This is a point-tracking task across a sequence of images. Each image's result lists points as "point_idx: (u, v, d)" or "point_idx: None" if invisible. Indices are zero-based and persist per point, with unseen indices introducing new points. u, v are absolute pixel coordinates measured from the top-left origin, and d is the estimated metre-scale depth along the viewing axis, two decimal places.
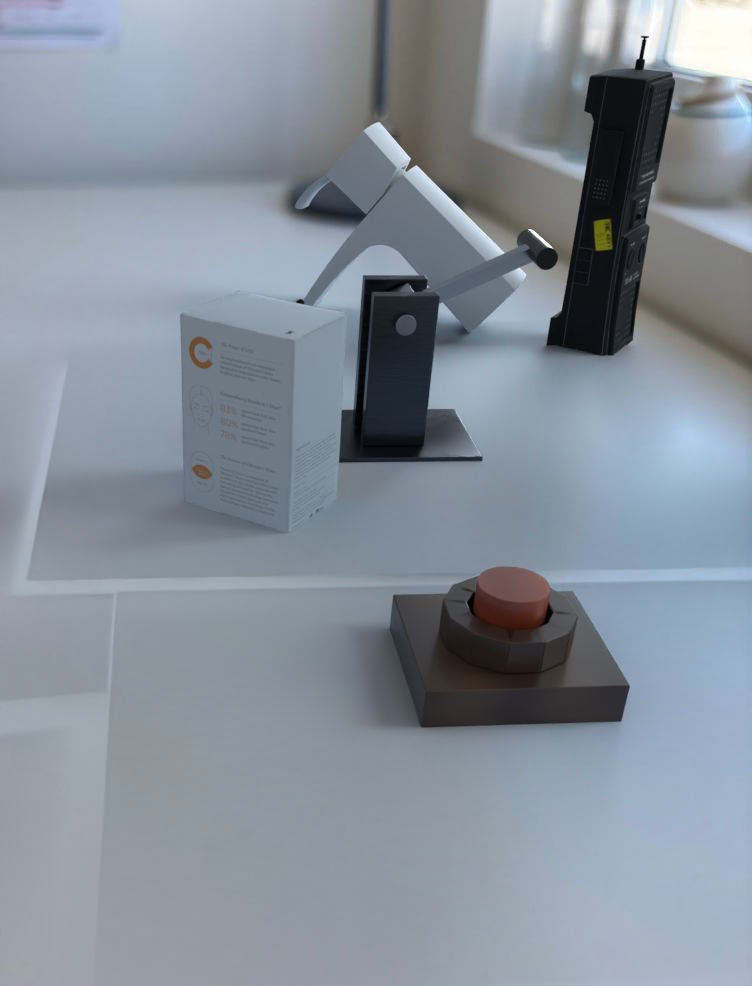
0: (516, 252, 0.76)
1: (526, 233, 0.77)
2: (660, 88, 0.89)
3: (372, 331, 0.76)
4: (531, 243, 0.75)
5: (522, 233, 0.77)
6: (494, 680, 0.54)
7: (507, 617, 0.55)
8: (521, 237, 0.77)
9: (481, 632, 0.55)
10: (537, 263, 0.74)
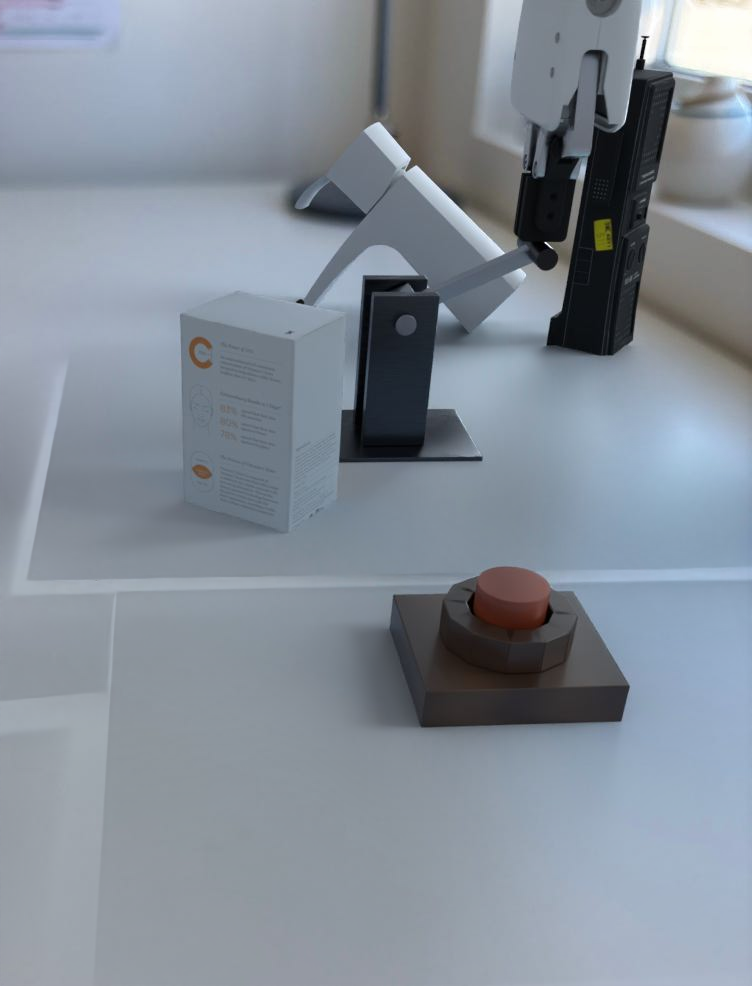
0: (517, 253, 0.76)
1: None
2: (660, 88, 0.89)
3: (372, 331, 0.76)
4: (531, 244, 0.75)
5: None
6: (494, 680, 0.54)
7: (507, 617, 0.55)
8: None
9: (481, 632, 0.55)
10: (537, 264, 0.74)
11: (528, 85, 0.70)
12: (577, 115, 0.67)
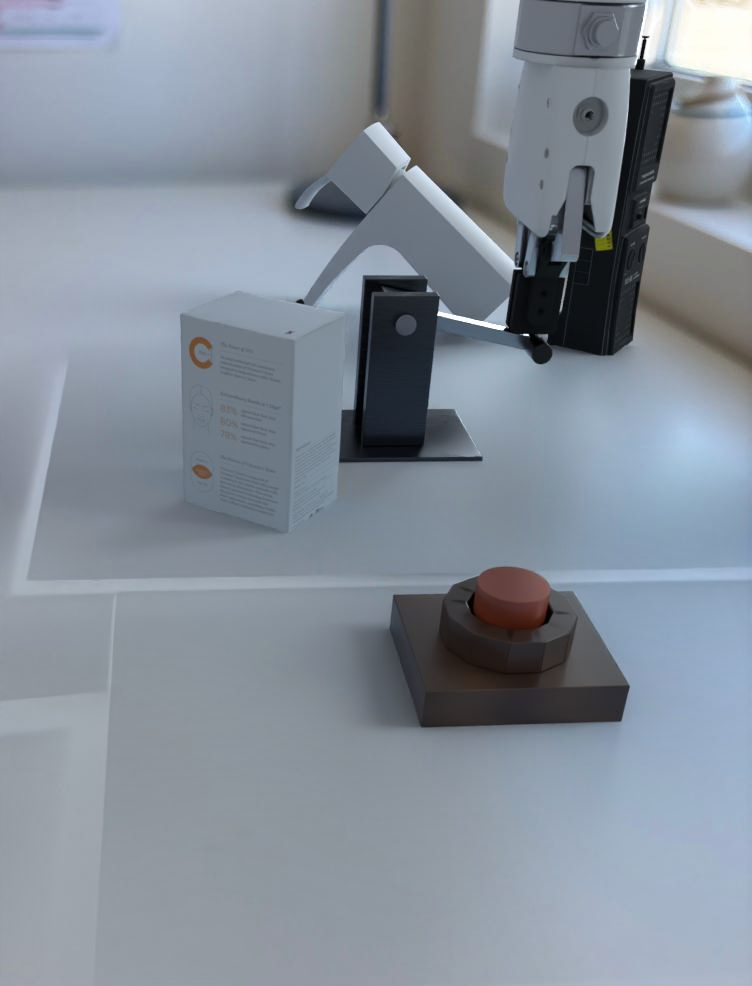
0: None
1: None
2: (660, 88, 0.89)
3: (372, 331, 0.76)
4: (533, 334, 0.79)
5: None
6: (494, 680, 0.54)
7: (507, 617, 0.55)
8: None
9: (481, 632, 0.55)
10: (533, 352, 0.77)
11: (519, 191, 0.74)
12: (565, 224, 0.70)
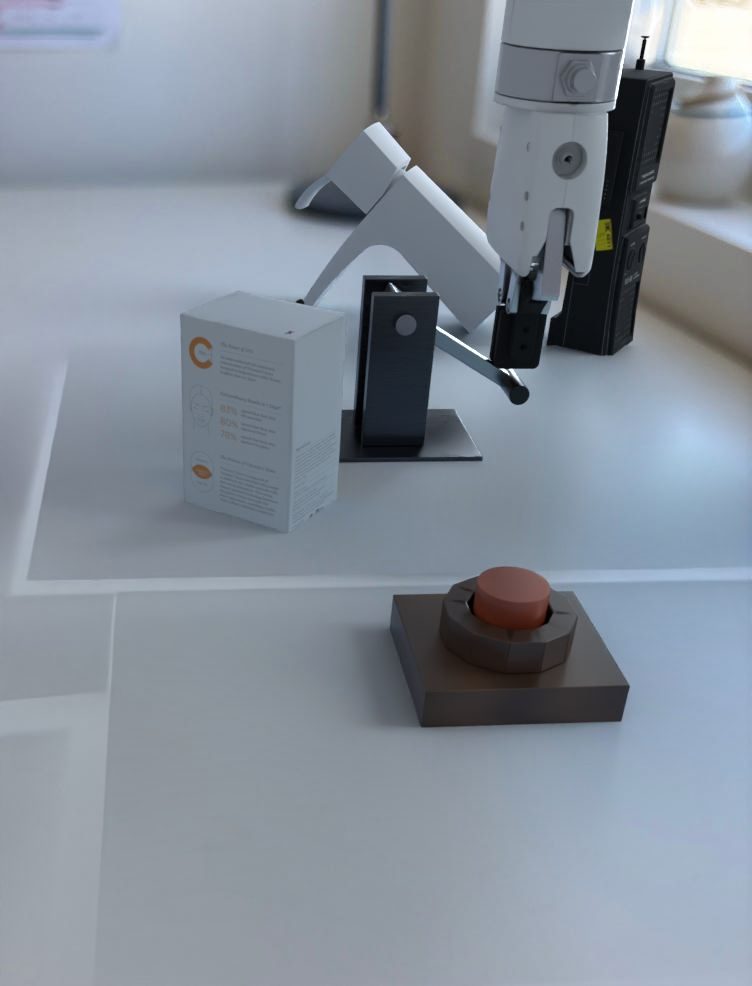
0: (501, 369, 0.80)
1: None
2: (660, 88, 0.89)
3: (372, 331, 0.76)
4: (514, 375, 0.80)
5: None
6: (494, 680, 0.54)
7: (507, 617, 0.55)
8: None
9: (481, 632, 0.55)
10: (511, 390, 0.79)
11: (501, 230, 0.75)
12: (546, 264, 0.72)
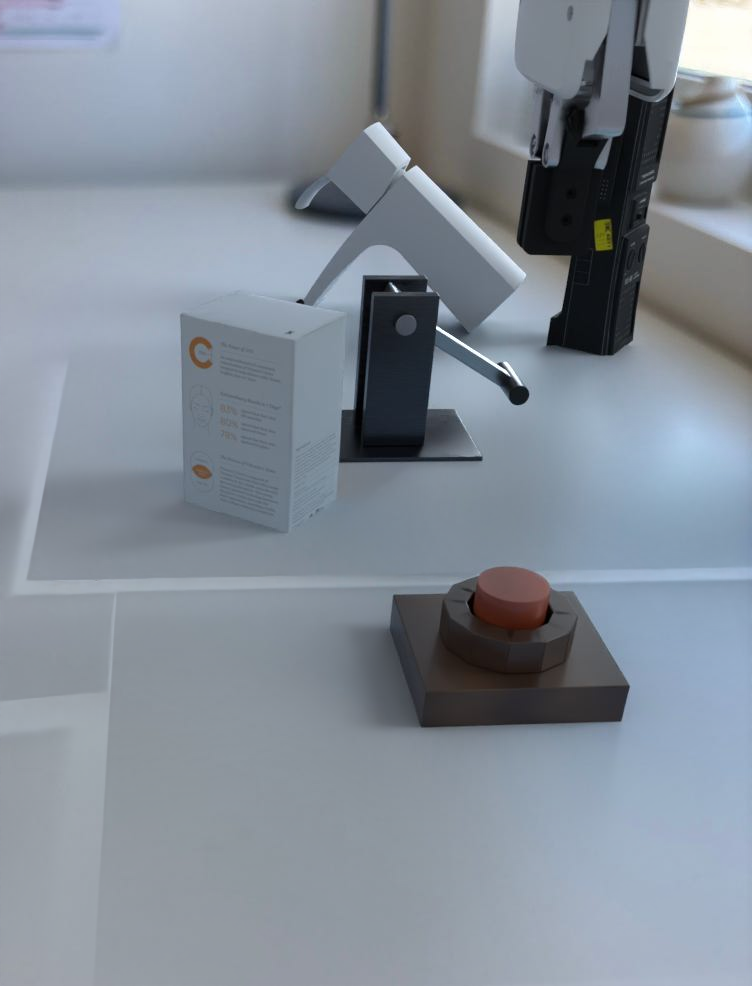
0: (501, 369, 0.80)
1: (510, 366, 0.82)
2: None
3: (372, 331, 0.76)
4: (513, 375, 0.80)
5: (506, 363, 0.82)
6: (494, 680, 0.54)
7: (507, 617, 0.55)
8: (504, 364, 0.82)
9: (481, 632, 0.55)
10: (511, 391, 0.79)
11: (537, 36, 0.50)
12: (606, 75, 0.47)
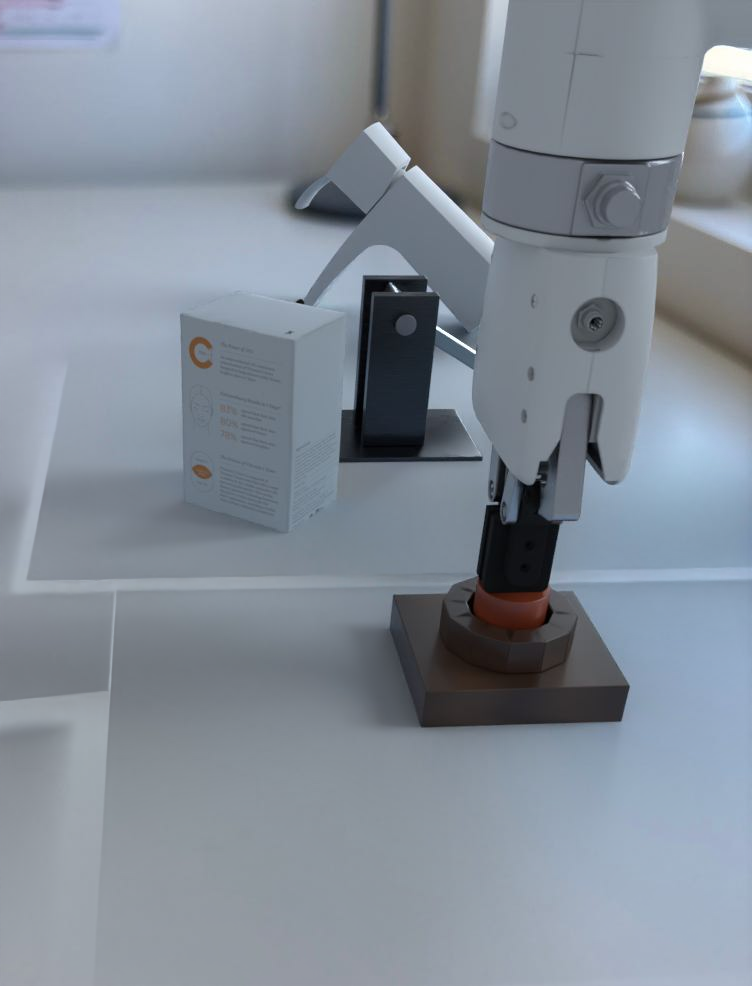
0: None
1: None
2: None
3: (372, 331, 0.76)
4: None
5: None
6: (494, 680, 0.54)
7: (507, 617, 0.55)
8: None
9: (481, 632, 0.55)
10: None
11: (493, 408, 0.50)
12: (560, 471, 0.47)
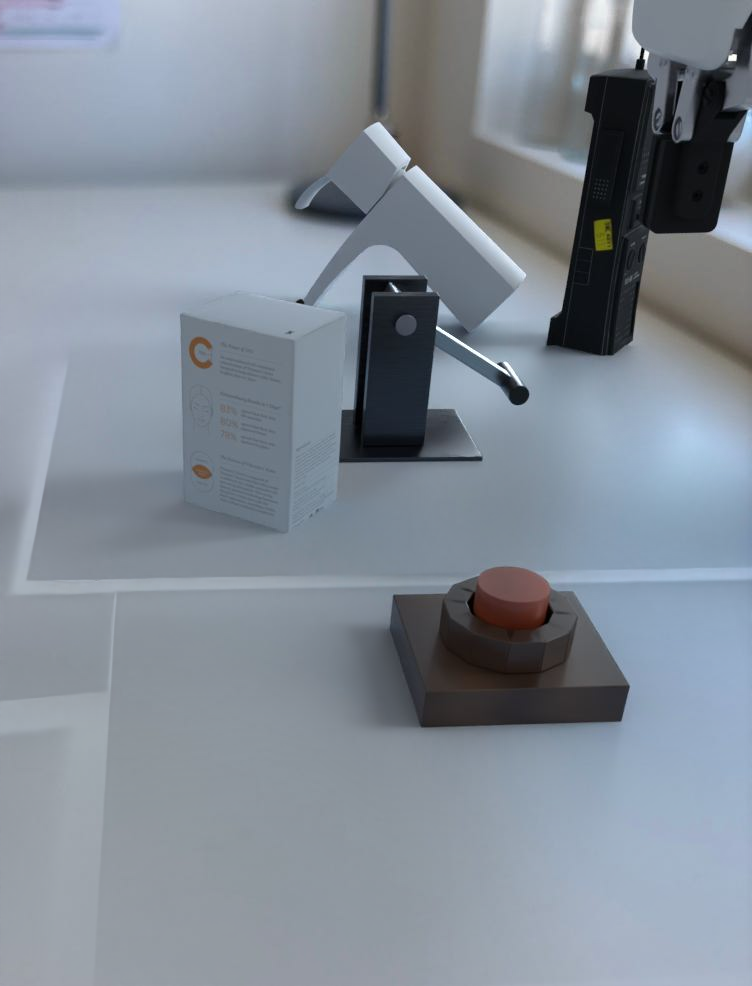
0: (501, 369, 0.80)
1: (510, 366, 0.82)
2: None
3: (372, 331, 0.76)
4: (513, 375, 0.80)
5: (506, 363, 0.82)
6: (494, 680, 0.54)
7: (507, 617, 0.55)
8: (504, 364, 0.82)
9: (481, 632, 0.55)
10: (511, 391, 0.79)
11: (669, 5, 0.48)
12: None
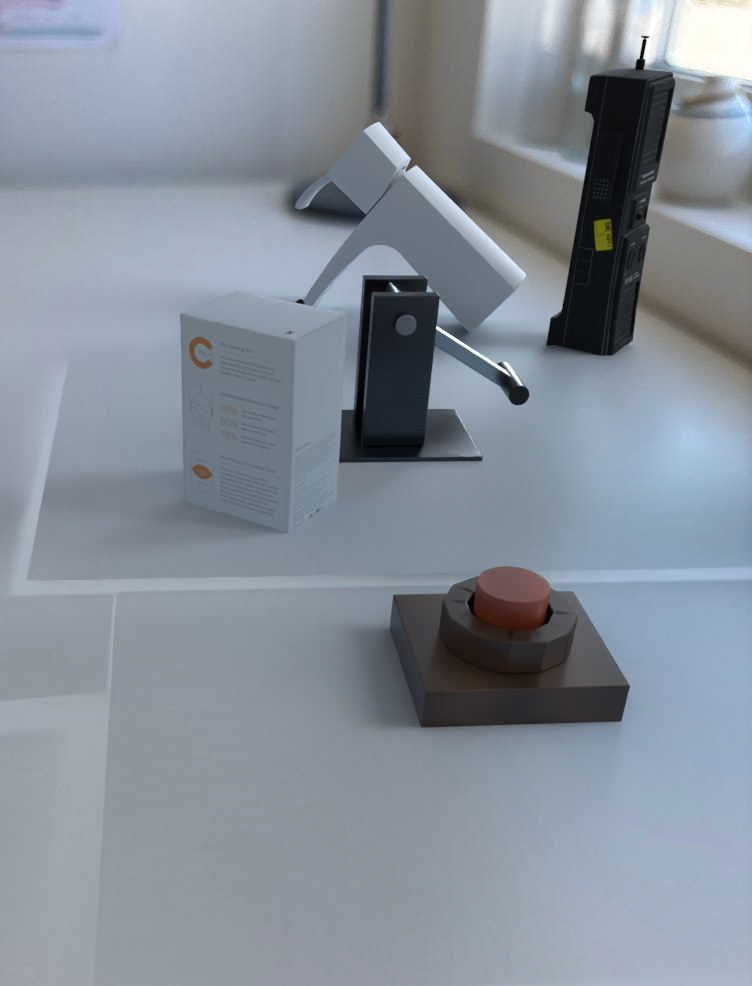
0: (501, 369, 0.80)
1: (510, 366, 0.82)
2: (660, 88, 0.89)
3: (372, 331, 0.76)
4: (513, 375, 0.80)
5: (506, 363, 0.82)
6: (494, 680, 0.54)
7: (507, 617, 0.55)
8: (504, 364, 0.82)
9: (481, 632, 0.55)
10: (511, 391, 0.79)
11: None
12: None
